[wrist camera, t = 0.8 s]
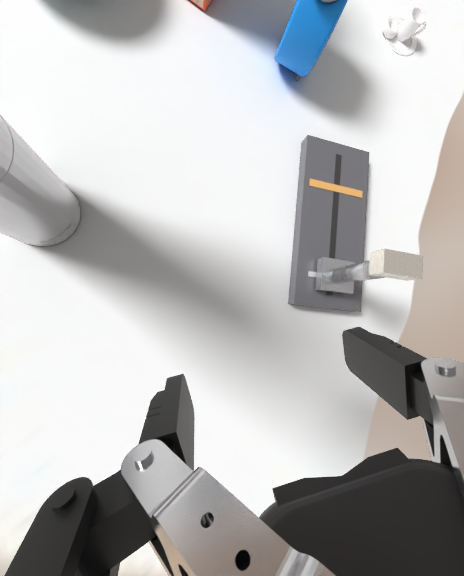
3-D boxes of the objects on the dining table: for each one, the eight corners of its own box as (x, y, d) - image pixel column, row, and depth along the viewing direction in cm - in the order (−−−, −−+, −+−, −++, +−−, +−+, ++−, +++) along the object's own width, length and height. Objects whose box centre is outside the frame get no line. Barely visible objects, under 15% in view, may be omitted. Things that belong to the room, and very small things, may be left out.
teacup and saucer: (373, 35, 48) (391, 11, 44) (389, 9, 49) (407, -16, 45) (405, 65, 49) (425, 45, 45) (420, 39, 50) (440, 17, 47)
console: (351, 311, 42) (361, 311, 40) (288, 303, 39) (294, 303, 37) (360, 159, 45) (369, 151, 43) (301, 142, 42) (308, 134, 40)
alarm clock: (295, 98, 42) (358, -11, 28) (264, 79, 41) (312, -44, 27) (317, 38, 44) (386, -92, 30) (287, 19, 43) (344, -126, 28)
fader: (346, 294, 39) (423, 289, 27) (315, 290, 38) (381, 283, 26) (348, 263, 40) (424, 245, 27) (317, 258, 39) (383, 237, 26)
